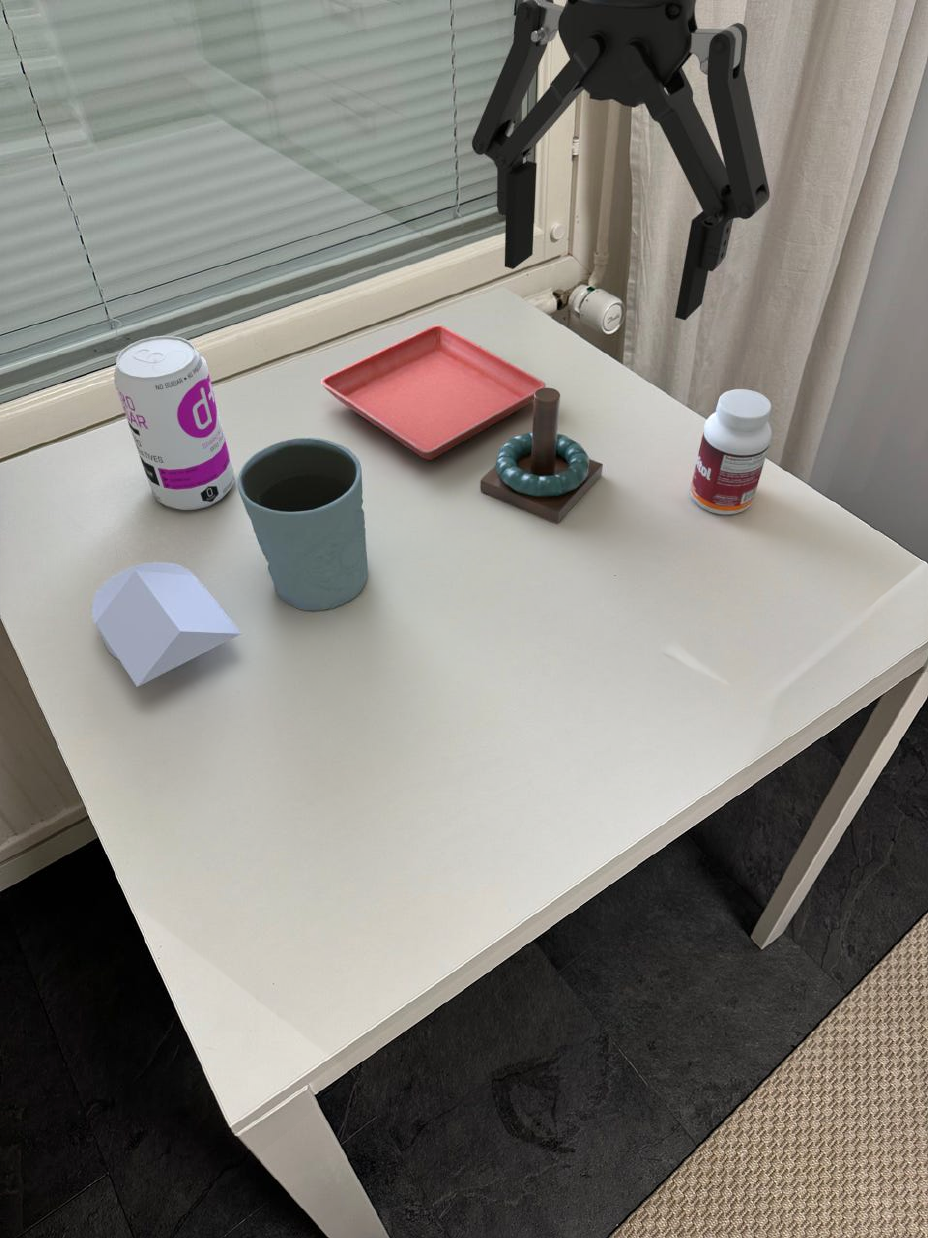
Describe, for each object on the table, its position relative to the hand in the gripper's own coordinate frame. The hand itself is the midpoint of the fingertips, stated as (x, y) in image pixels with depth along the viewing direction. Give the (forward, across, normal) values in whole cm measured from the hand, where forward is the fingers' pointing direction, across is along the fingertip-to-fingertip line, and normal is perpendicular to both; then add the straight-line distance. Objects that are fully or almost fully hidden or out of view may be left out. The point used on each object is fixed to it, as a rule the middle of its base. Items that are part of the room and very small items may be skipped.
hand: (599, 285), depth 63 cm
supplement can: (+27, -37, -12) cm, 47 cm away
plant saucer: (+27, -25, +13) cm, 39 cm away
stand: (+27, -8, +8) cm, 29 cm away
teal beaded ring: (+24, -8, +8) cm, 27 cm away
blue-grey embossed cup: (+27, -18, -15) cm, 36 cm away
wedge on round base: (+27, -24, -28) cm, 46 cm away
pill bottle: (+27, +8, +16) cm, 32 cm away
